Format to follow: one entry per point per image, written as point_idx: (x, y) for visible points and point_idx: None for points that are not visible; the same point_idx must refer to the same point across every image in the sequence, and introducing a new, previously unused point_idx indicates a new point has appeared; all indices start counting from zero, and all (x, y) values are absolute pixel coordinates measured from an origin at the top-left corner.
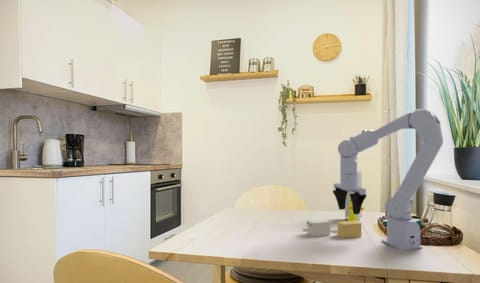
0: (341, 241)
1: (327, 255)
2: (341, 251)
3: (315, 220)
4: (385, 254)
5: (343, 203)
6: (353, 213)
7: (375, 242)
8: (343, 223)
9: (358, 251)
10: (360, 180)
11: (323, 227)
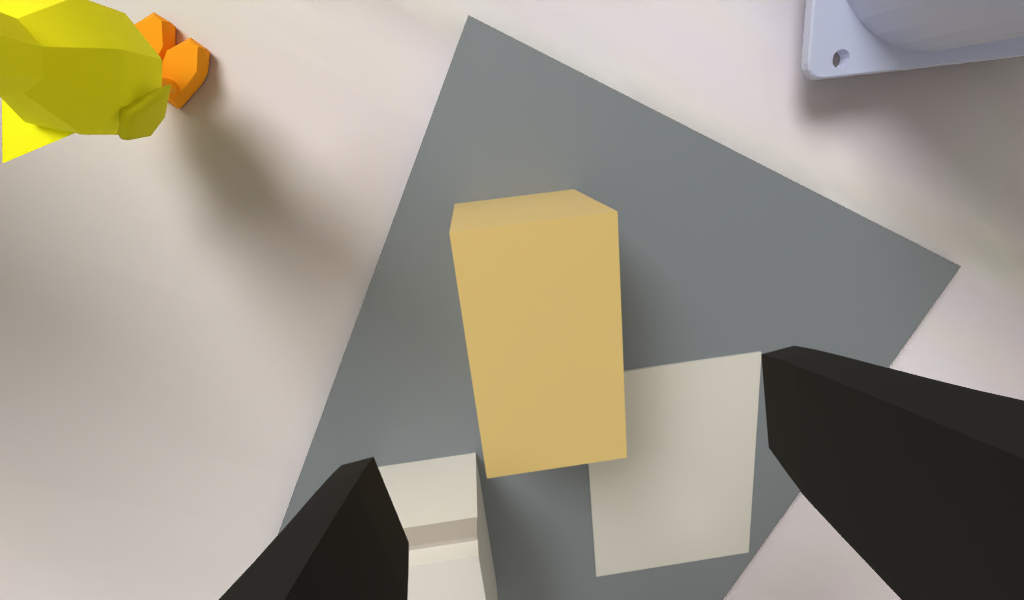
0: None
1: (834, 570)
2: None
3: None
4: (979, 197)
5: (350, 583)
6: (774, 453)
7: (712, 106)
8: (578, 440)
9: None
10: None
11: (487, 569)
